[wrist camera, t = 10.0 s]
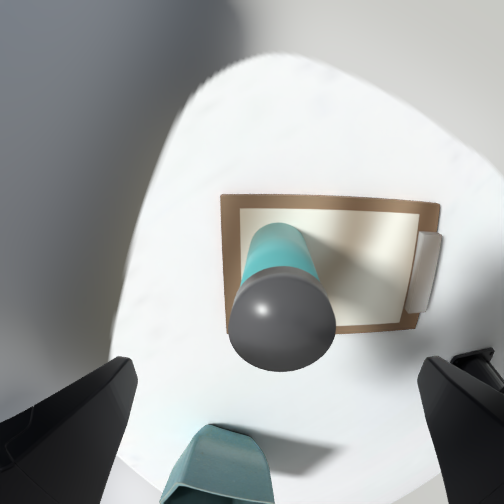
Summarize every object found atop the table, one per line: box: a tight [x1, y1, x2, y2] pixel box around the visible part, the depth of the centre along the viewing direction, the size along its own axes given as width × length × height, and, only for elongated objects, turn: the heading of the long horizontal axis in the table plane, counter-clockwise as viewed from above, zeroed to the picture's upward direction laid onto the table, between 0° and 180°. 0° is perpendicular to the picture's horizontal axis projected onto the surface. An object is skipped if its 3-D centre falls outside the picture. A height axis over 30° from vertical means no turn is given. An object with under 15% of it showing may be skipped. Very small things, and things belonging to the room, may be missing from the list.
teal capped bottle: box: [228, 222, 336, 372], centre depth 14 cm, size 4×4×9 cm
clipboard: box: [220, 194, 442, 334], centre depth 19 cm, size 15×10×1 cm, turn 91°
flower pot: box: [159, 425, 275, 504], centre depth 22 cm, size 9×9×9 cm
